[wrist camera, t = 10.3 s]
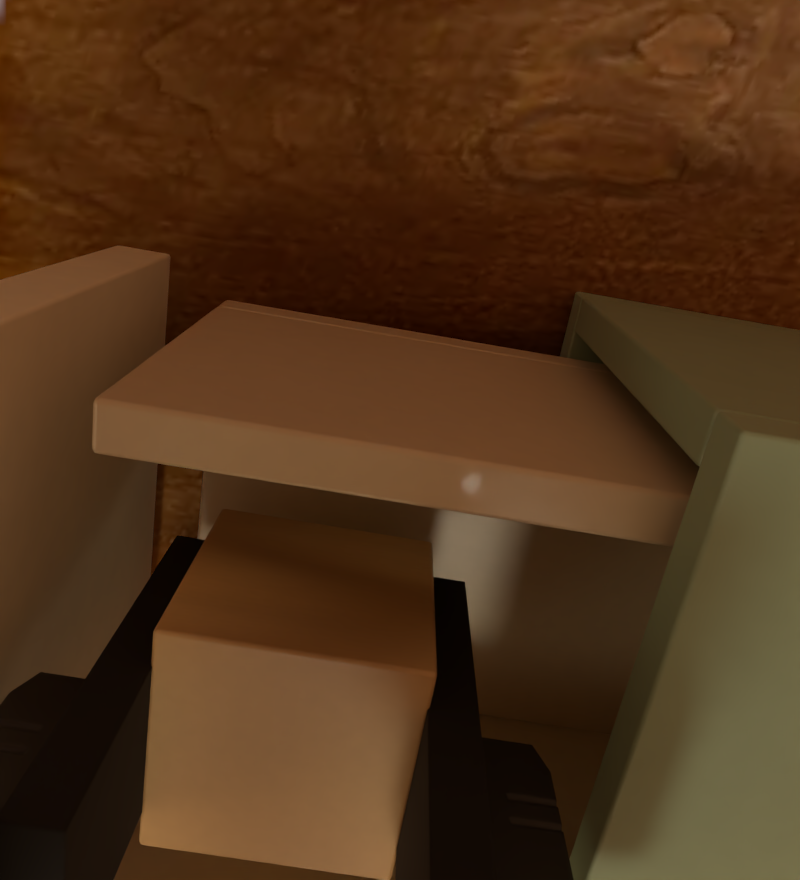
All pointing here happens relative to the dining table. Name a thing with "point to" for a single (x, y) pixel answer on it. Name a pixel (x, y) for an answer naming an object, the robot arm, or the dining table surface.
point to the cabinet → (707, 608)
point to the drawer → (331, 491)
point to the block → (290, 696)
